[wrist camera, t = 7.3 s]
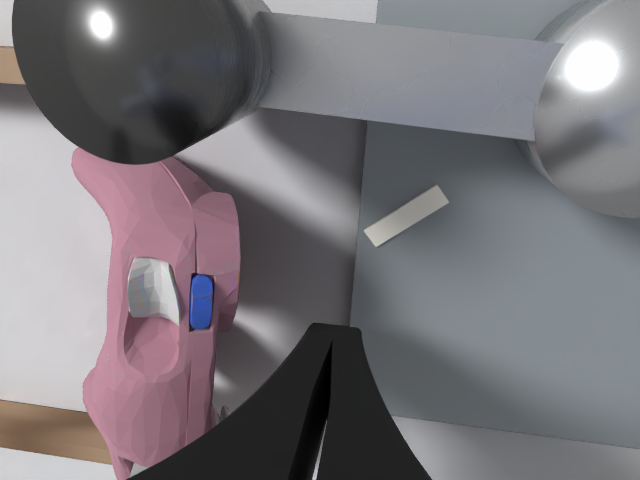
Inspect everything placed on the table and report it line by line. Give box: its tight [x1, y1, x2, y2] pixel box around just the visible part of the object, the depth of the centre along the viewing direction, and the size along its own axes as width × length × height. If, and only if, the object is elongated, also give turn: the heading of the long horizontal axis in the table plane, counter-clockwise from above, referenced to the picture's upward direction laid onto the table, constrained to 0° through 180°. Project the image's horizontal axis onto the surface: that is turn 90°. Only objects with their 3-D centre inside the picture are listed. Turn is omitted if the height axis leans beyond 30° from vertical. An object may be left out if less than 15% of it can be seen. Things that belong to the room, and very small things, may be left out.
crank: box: [12, 0, 640, 218], centre depth 8 cm, size 13×4×5 cm, turn 84°
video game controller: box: [71, 147, 241, 480], centre depth 13 cm, size 10×5×7 cm, turn 168°
